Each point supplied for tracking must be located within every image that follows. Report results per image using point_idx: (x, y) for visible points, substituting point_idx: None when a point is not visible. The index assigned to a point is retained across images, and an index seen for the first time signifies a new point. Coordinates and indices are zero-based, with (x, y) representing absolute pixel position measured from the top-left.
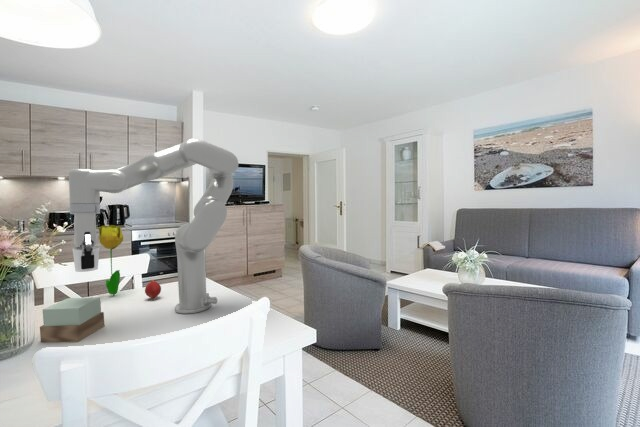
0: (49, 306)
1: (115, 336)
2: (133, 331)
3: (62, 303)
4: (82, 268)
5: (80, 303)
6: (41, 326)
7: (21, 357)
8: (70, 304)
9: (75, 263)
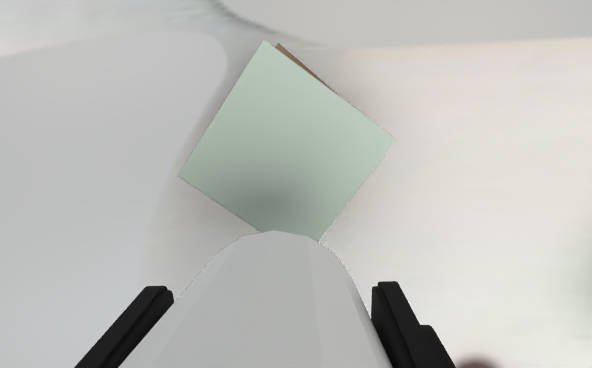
0: (297, 66)
1: (185, 237)
2: (192, 280)
3: (310, 117)
4: (146, 293)
5: (251, 185)
6: (277, 48)
7: (186, 13)
8: (266, 148)
9: (216, 269)
